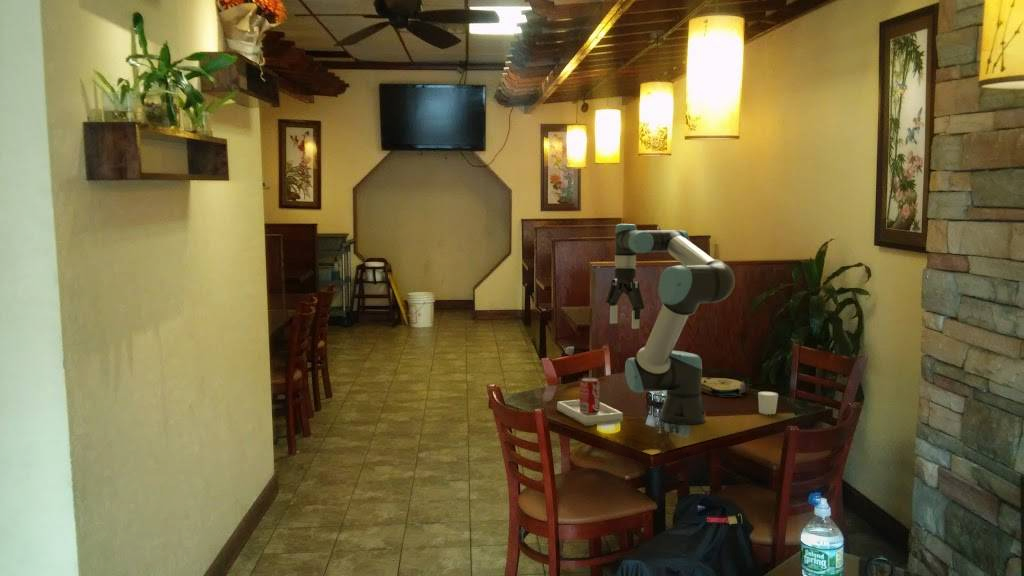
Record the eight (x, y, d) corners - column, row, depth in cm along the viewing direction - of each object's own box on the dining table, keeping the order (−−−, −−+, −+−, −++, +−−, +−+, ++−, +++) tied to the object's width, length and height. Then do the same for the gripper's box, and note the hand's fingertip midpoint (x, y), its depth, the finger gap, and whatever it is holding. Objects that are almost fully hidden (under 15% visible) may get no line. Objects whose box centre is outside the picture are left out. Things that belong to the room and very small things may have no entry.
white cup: (780, 414, 293) (781, 395, 292) (761, 415, 292) (762, 395, 291) (773, 409, 299) (773, 390, 299) (754, 410, 299) (755, 391, 298)
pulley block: (679, 368, 340) (753, 376, 325) (679, 381, 342) (753, 390, 326) (667, 379, 329) (742, 389, 313) (667, 393, 330) (742, 403, 315)
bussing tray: (622, 421, 283) (622, 412, 283) (586, 425, 278) (586, 416, 277) (591, 406, 303) (591, 398, 303) (557, 409, 298) (557, 401, 297)
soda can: (600, 410, 293) (600, 377, 292) (599, 416, 286) (599, 381, 285) (580, 409, 294) (580, 376, 293) (578, 415, 287) (578, 381, 286)
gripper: (655, 269, 288) (653, 329, 291) (614, 264, 310) (613, 320, 313) (637, 270, 285) (636, 331, 287) (597, 265, 307) (596, 321, 309)
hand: (624, 325), depth 300 cm, fingers open, 13 cm apart
